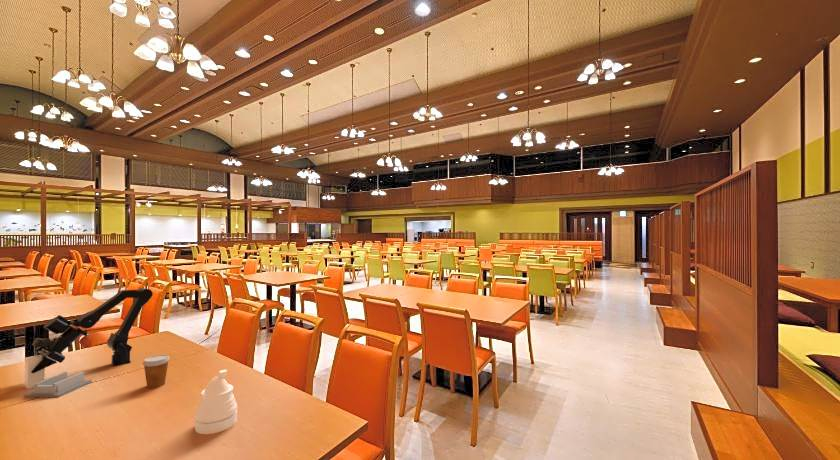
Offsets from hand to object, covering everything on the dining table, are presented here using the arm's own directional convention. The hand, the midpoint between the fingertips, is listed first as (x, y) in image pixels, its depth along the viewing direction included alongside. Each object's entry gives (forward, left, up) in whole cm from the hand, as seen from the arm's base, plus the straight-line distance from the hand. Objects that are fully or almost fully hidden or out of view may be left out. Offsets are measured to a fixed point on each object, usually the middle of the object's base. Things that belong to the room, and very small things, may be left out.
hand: (30, 371), depth 149 cm
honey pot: (-42, +93, -7) cm, 103 cm away
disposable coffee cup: (-36, +39, -7) cm, 54 cm away
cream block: (-1, 0, -7) cm, 7 cm away
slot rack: (-8, +14, -7) cm, 17 cm away
